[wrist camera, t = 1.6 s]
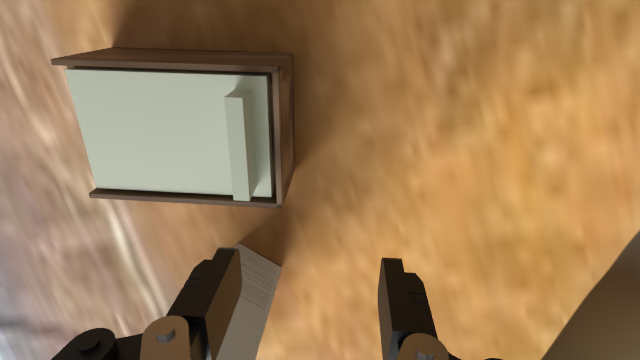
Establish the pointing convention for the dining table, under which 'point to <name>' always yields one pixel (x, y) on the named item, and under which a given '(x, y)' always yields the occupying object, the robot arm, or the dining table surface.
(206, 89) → the lid
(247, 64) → the box
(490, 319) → the dining table surface
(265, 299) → the skincare box
